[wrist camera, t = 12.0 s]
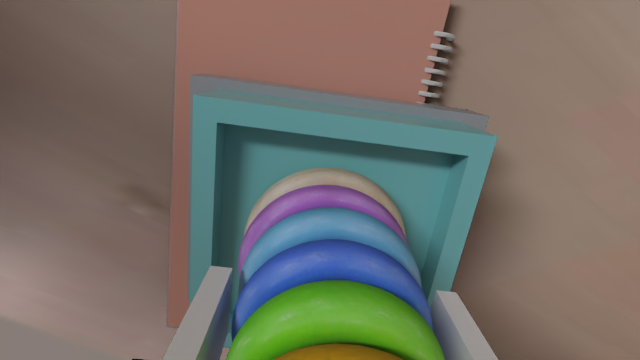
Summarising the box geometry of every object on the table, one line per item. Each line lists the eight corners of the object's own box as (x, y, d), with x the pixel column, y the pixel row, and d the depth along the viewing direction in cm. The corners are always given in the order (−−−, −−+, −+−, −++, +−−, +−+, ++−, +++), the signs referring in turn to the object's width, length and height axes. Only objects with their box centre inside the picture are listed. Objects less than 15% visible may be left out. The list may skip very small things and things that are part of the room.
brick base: (201, 272, 25) (160, 348, 18) (207, 73, 20) (155, 77, 14) (415, 295, 26) (450, 376, 19) (466, 109, 21) (534, 129, 15)
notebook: (368, 336, 30) (372, 354, 28) (174, 311, 29) (165, 329, 27) (460, -4, 21) (474, -11, 20) (190, -58, 20) (177, -71, 18)
